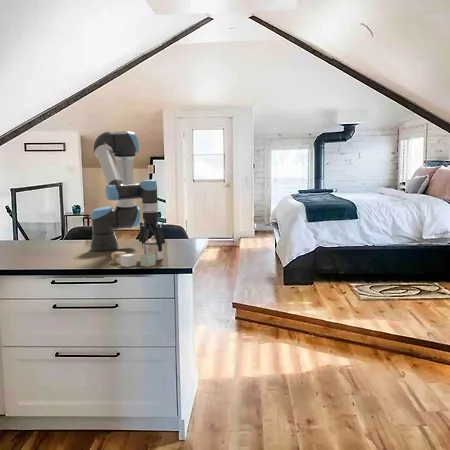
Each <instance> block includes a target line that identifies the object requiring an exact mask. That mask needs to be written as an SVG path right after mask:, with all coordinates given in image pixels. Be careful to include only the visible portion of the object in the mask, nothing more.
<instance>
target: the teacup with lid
mask: <svg viewBox="0 0 450 450" xmlns="http://www.w3.org/2000/svg"><path fill="white" fill-rule="evenodd" d="M156 245H157V242H156V239H155V237H154V235H152V236H151V238H148V239H147V241H145V250H146V254H155V261H156V262H157V261H161V260H164V244H162V258H157V253H156Z"/></svg>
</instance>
